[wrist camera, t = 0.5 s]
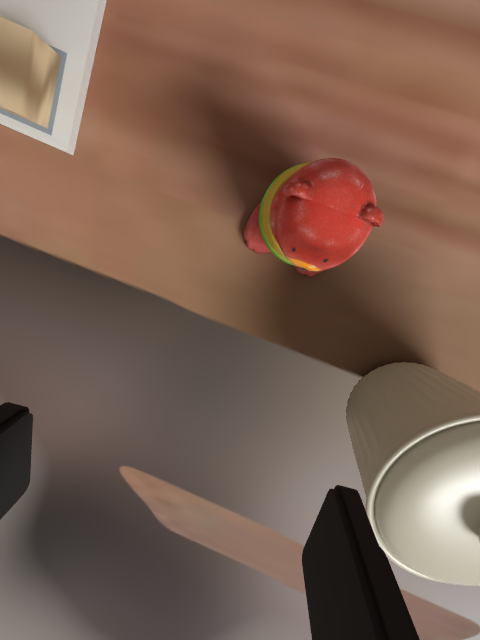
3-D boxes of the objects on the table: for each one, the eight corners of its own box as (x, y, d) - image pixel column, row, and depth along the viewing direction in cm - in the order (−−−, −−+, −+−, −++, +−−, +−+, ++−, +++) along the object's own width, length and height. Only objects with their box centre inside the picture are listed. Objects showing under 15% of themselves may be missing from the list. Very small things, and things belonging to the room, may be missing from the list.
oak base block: (-5, 26, 30) (-44, -4, 26) (61, 56, 30) (32, 30, 27) (-15, 101, 32) (-52, 83, 28) (47, 128, 32) (19, 114, 28)
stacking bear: (237, 244, 36) (218, 253, 19) (274, 159, 33) (292, 79, 16) (317, 281, 36) (368, 323, 19) (360, 201, 34) (464, 168, 17)
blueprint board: (3, -145, 27) (-10, -163, 26) (125, -86, 28) (118, -101, 27) (-28, 111, 33) (-39, 107, 32) (73, 155, 34) (66, 152, 33)
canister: (318, 350, 39) (382, 476, 19) (463, 328, 37) (709, 443, 17) (332, 462, 44) (395, 657, 24) (461, 448, 42) (651, 649, 22)
